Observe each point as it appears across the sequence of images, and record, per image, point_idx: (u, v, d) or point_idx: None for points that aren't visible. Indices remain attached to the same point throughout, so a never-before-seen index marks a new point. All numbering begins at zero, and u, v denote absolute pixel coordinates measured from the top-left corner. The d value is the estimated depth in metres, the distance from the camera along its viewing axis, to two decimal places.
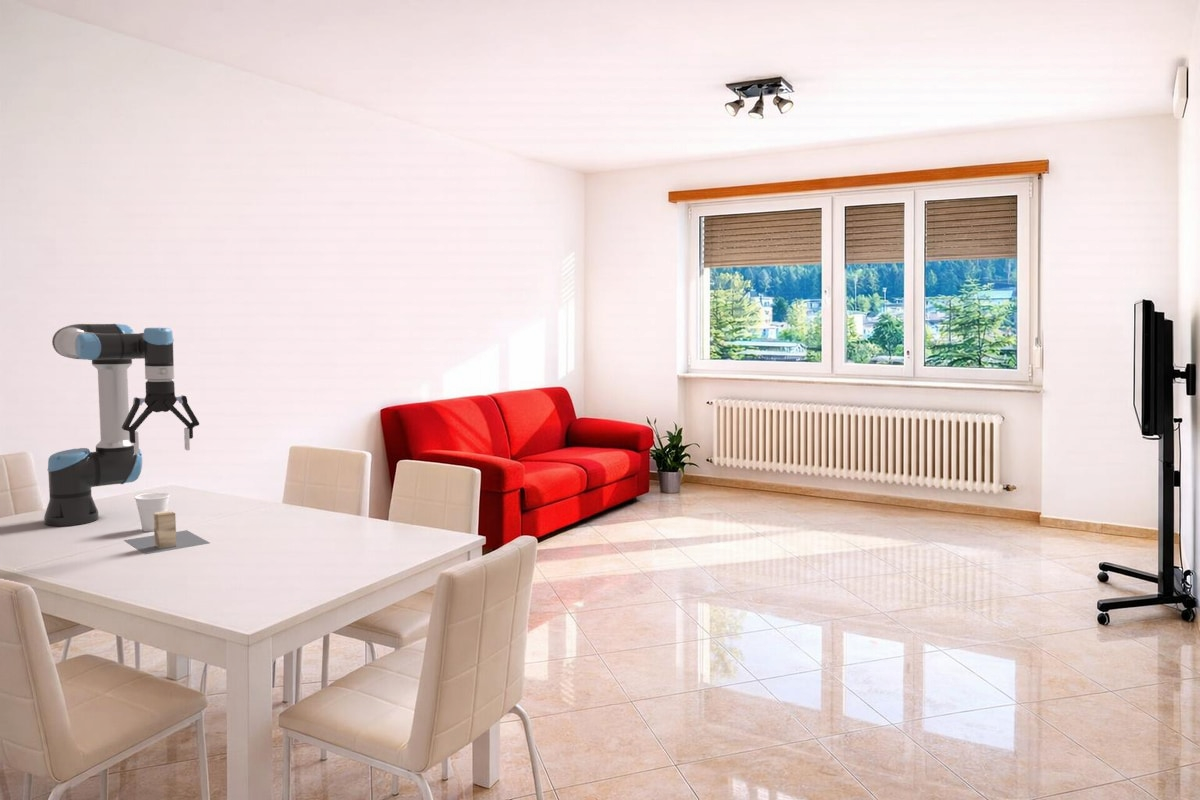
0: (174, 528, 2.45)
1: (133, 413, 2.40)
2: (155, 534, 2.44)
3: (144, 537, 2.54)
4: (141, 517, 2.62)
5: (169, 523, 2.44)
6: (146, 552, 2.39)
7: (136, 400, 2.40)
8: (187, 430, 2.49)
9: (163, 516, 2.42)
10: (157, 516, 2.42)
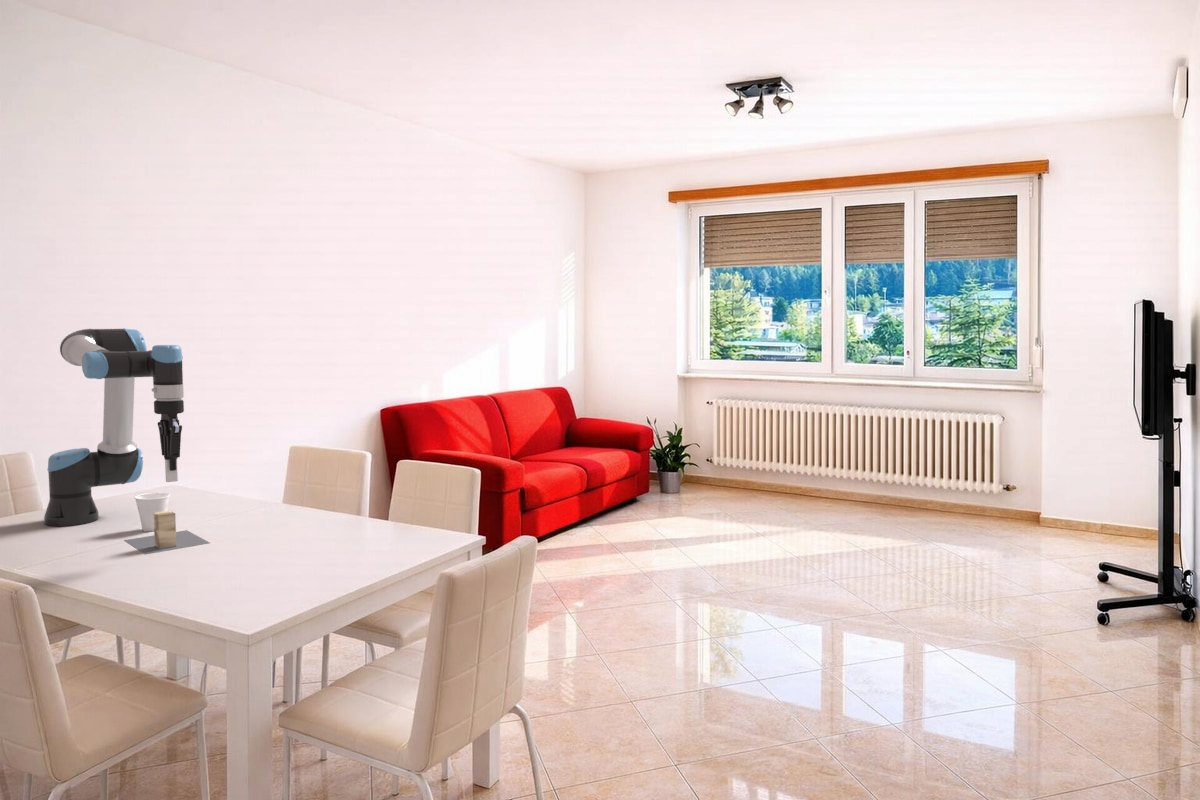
0: (174, 528, 2.45)
1: (160, 437, 2.39)
2: (155, 534, 2.44)
3: (144, 537, 2.54)
4: (141, 517, 2.62)
5: (169, 523, 2.44)
6: (146, 552, 2.39)
7: (158, 425, 2.40)
8: (166, 461, 2.37)
9: (163, 516, 2.42)
10: (157, 516, 2.42)
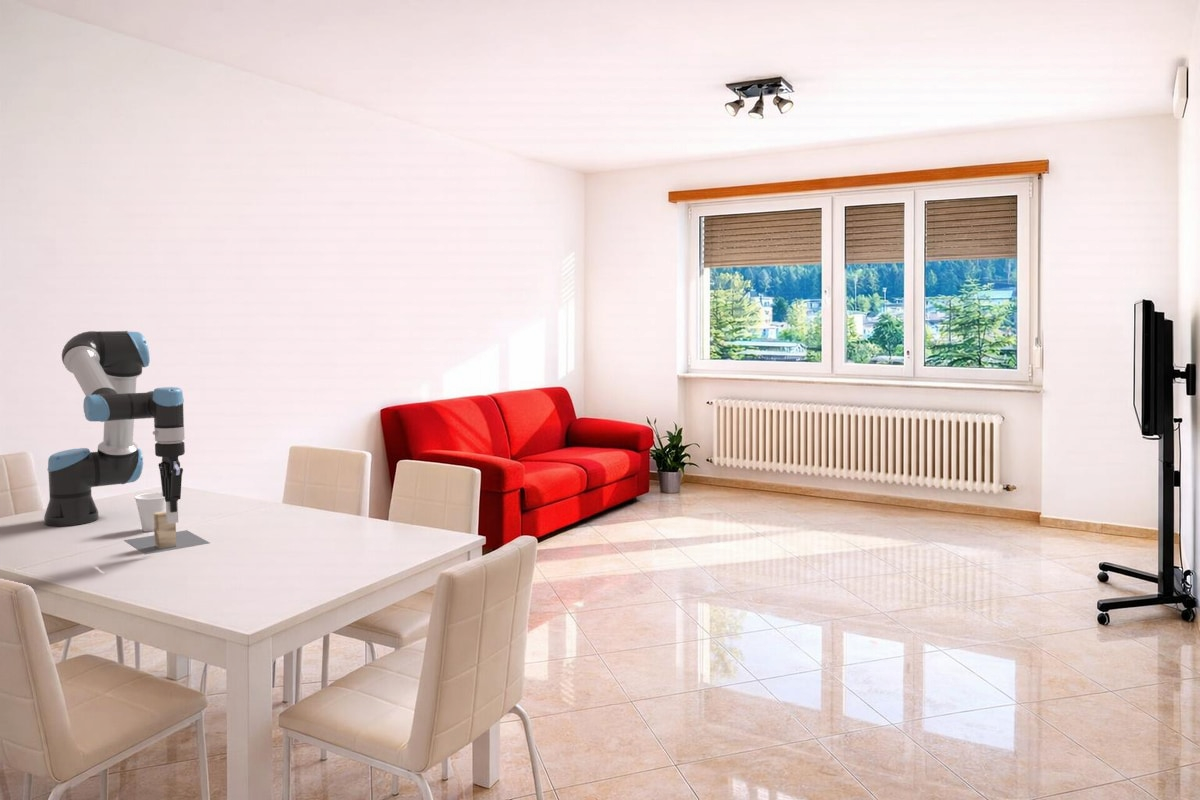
0: (174, 528, 2.45)
1: (161, 478, 2.41)
2: (155, 534, 2.44)
3: (144, 537, 2.54)
4: (141, 517, 2.62)
5: None
6: (146, 552, 2.39)
7: (159, 466, 2.42)
8: (167, 502, 2.38)
9: (163, 516, 2.42)
10: (157, 516, 2.42)
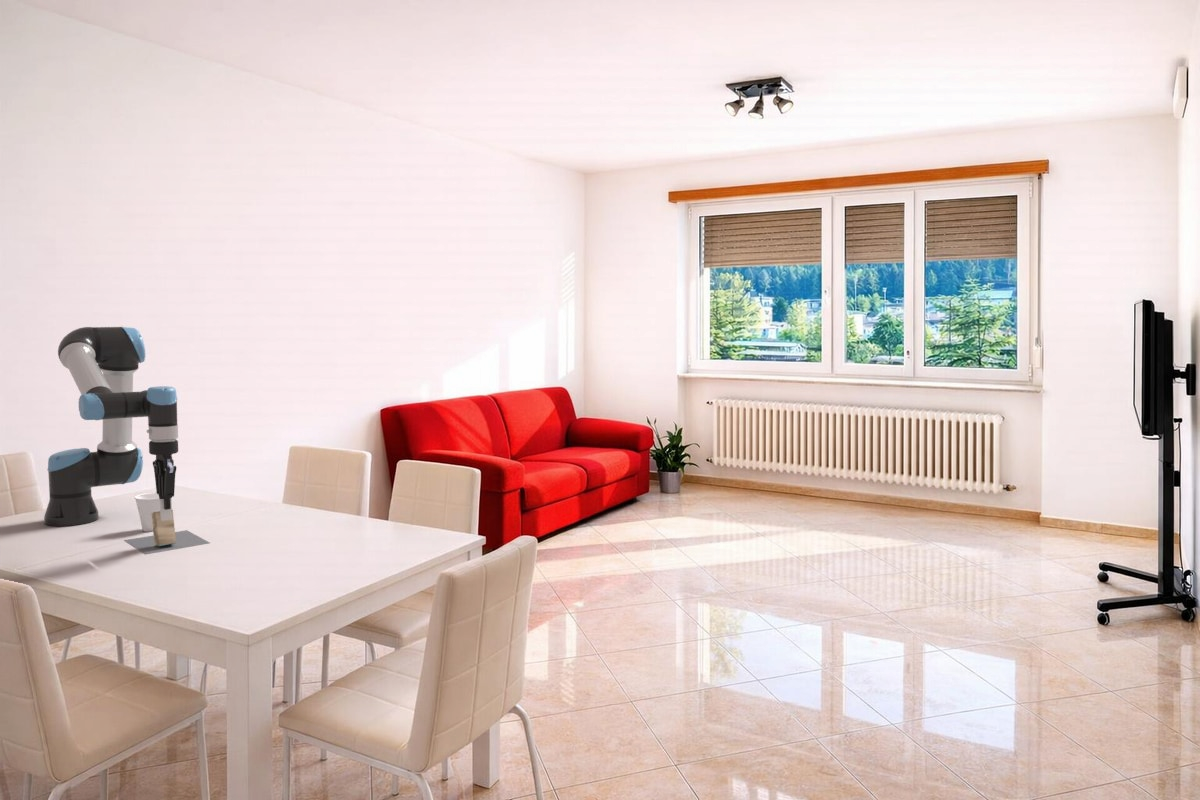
0: (172, 524, 2.45)
1: (155, 476, 2.44)
2: (154, 534, 2.45)
3: (144, 537, 2.54)
4: (141, 517, 2.62)
5: None
6: (146, 552, 2.39)
7: (153, 464, 2.45)
8: (160, 500, 2.42)
9: None
10: (155, 513, 2.44)
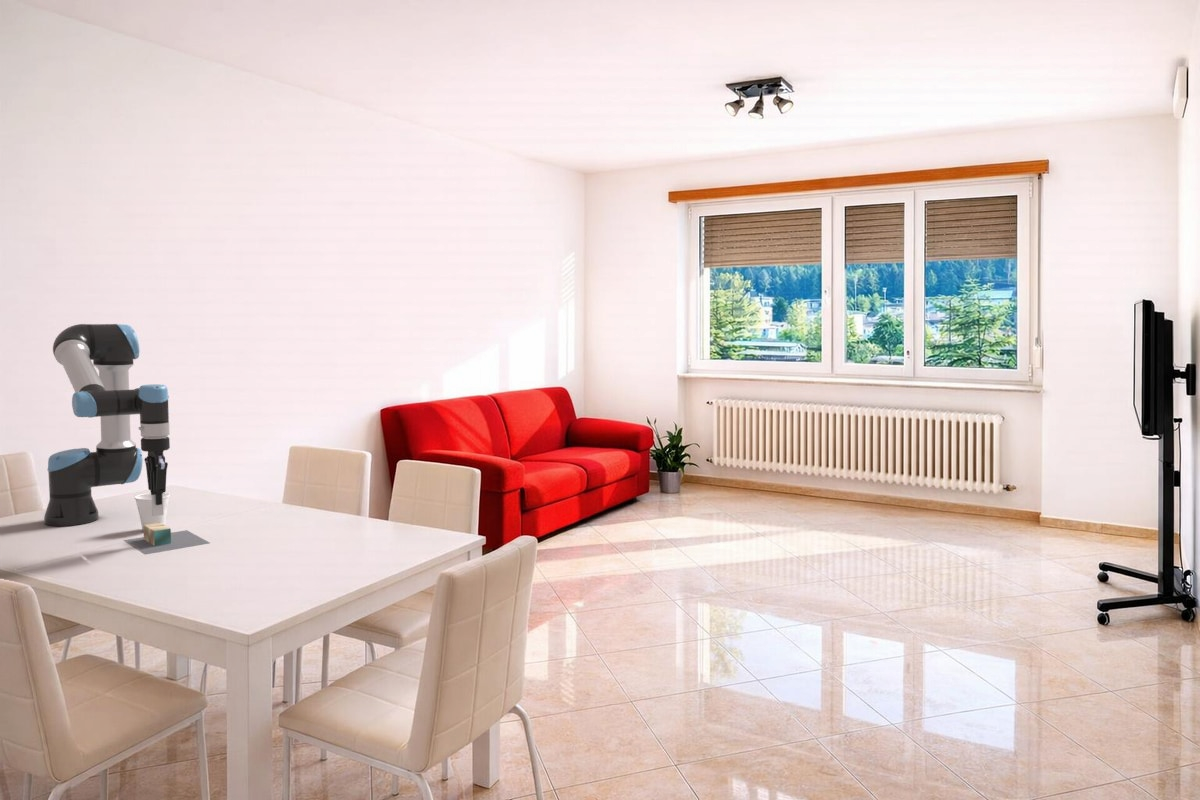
0: (163, 525, 2.52)
1: (147, 472, 2.50)
2: (150, 540, 2.48)
3: None
4: (141, 517, 2.62)
5: (156, 524, 2.52)
6: (146, 552, 2.39)
7: (145, 460, 2.50)
8: (152, 495, 2.47)
9: (148, 524, 2.53)
10: (144, 528, 2.52)
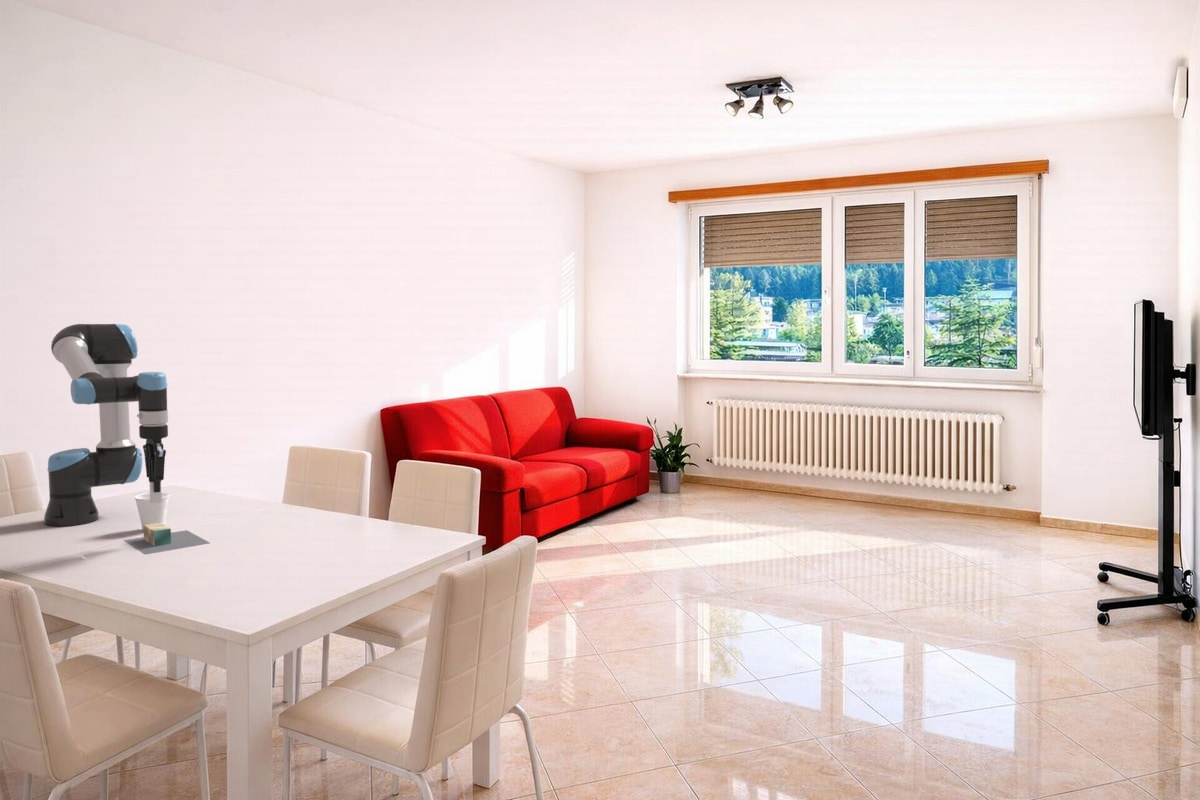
0: (163, 525, 2.52)
1: (145, 460, 2.50)
2: (150, 540, 2.48)
3: None
4: (141, 517, 2.62)
5: (156, 524, 2.52)
6: (146, 552, 2.39)
7: (143, 447, 2.51)
8: (150, 483, 2.48)
9: (148, 524, 2.53)
10: (144, 528, 2.52)
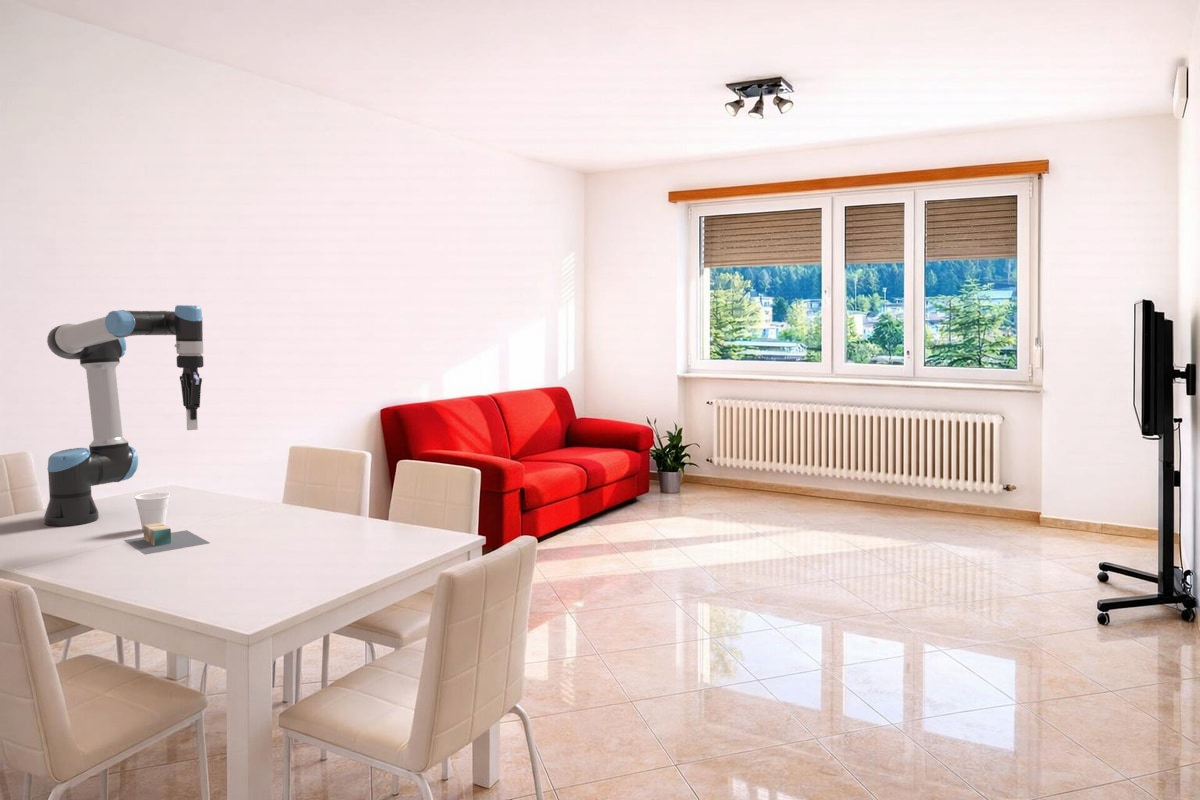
0: (163, 525, 2.52)
1: (182, 389, 2.63)
2: (150, 540, 2.48)
3: None
4: (141, 517, 2.62)
5: (156, 524, 2.52)
6: (146, 552, 2.39)
7: (180, 378, 2.64)
8: (187, 411, 2.60)
9: (148, 524, 2.53)
10: (144, 528, 2.52)
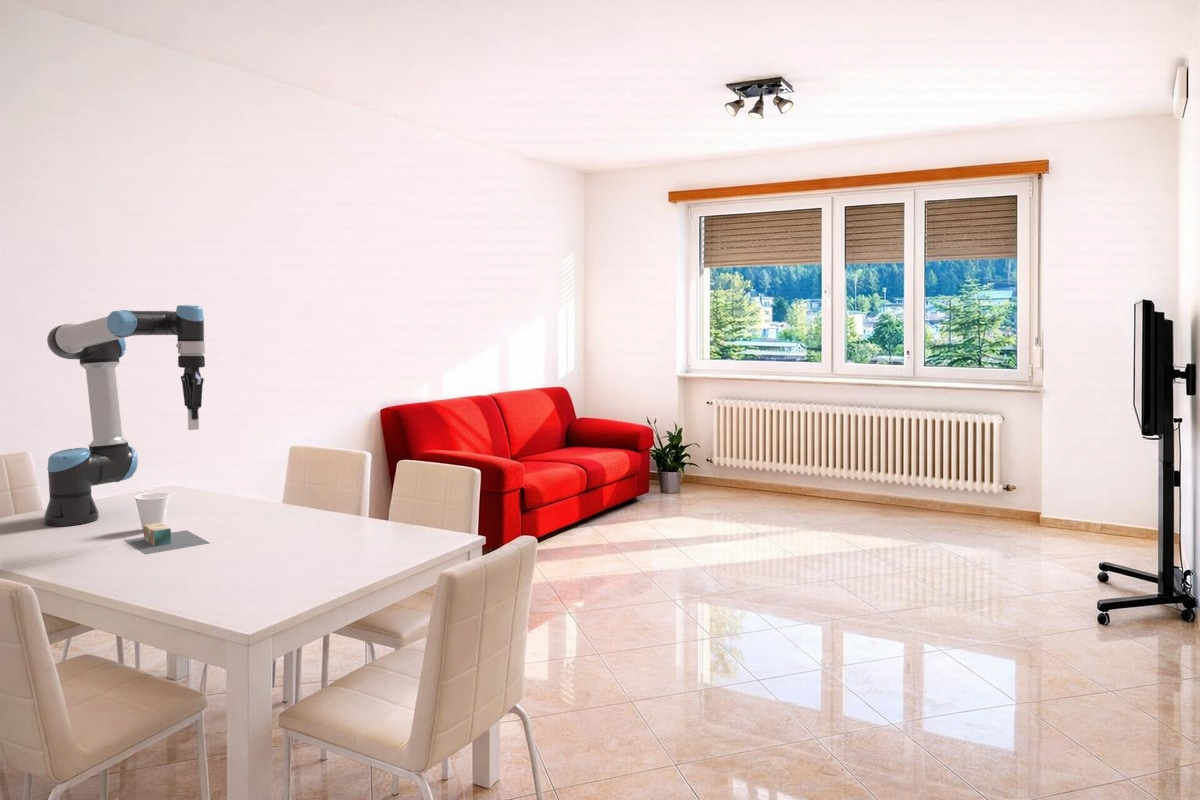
0: (163, 525, 2.52)
1: (183, 389, 2.63)
2: (150, 540, 2.48)
3: None
4: (141, 517, 2.62)
5: (156, 524, 2.52)
6: (146, 552, 2.39)
7: (181, 378, 2.64)
8: (188, 410, 2.61)
9: (148, 524, 2.53)
10: (144, 528, 2.52)
